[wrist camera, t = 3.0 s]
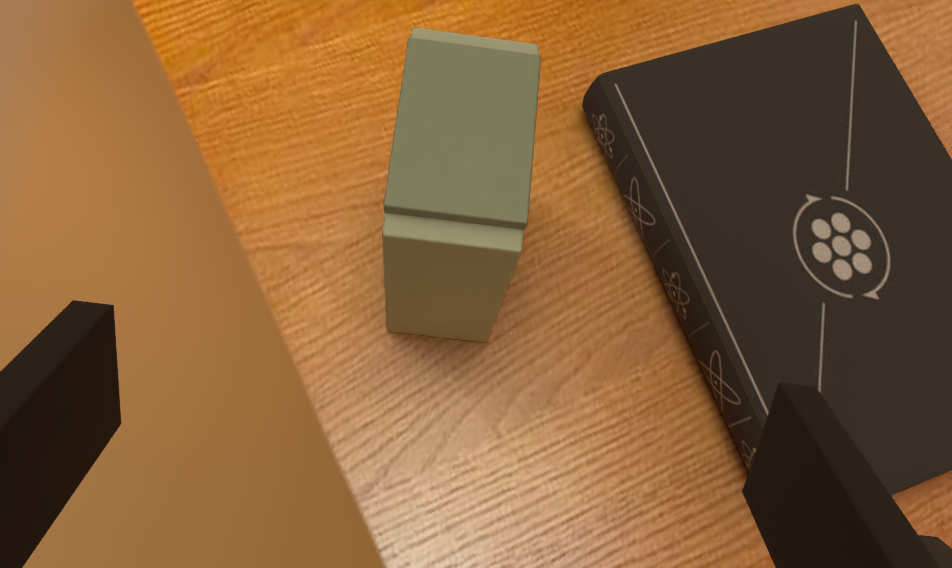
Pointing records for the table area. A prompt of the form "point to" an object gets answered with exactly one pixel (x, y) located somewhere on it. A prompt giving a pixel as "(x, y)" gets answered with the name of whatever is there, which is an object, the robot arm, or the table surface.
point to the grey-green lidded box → (458, 182)
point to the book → (797, 228)
